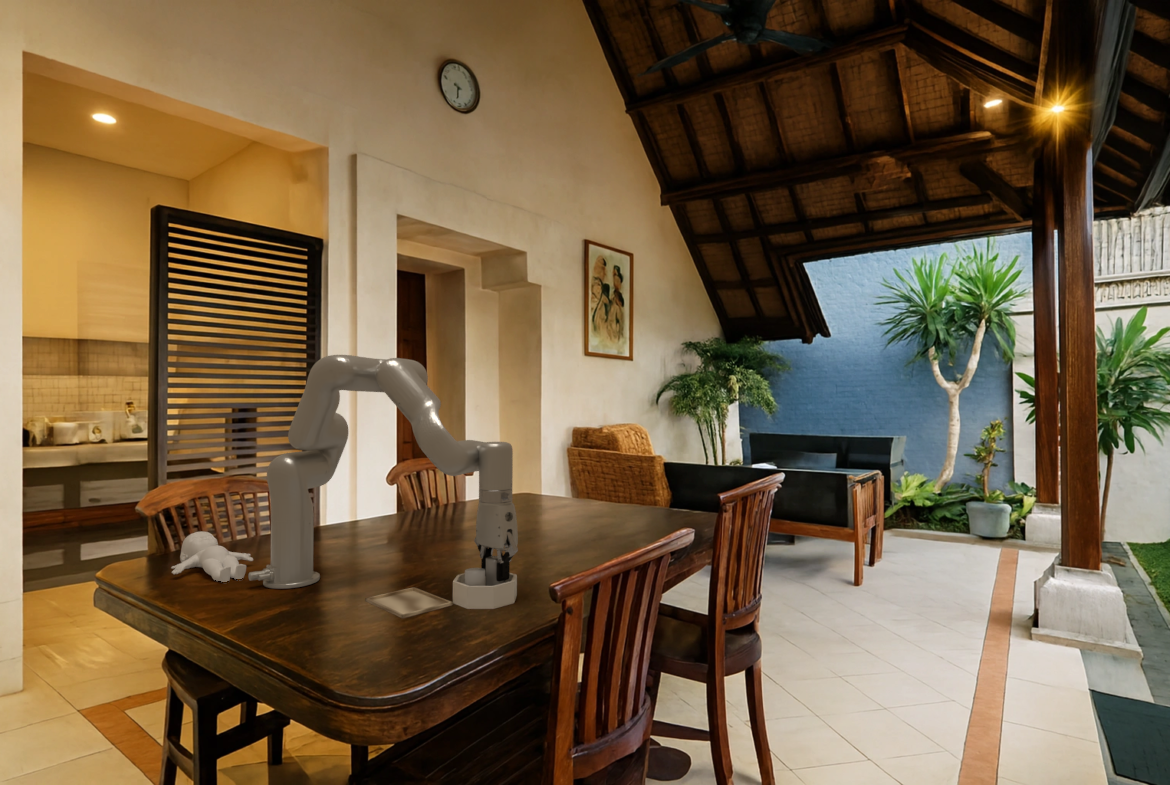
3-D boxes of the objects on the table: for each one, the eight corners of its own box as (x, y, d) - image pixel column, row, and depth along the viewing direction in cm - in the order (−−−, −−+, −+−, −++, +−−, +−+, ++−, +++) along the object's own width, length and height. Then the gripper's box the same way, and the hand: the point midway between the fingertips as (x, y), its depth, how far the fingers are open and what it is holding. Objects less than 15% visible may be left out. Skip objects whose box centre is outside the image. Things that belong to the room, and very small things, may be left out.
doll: (190, 565, 150) (152, 532, 170) (188, 603, 150) (150, 565, 170) (274, 551, 164) (230, 522, 184) (272, 586, 165) (228, 553, 185)
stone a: (488, 598, 141) (489, 569, 141) (475, 604, 137) (476, 574, 137) (473, 595, 143) (473, 566, 143) (460, 600, 139) (460, 571, 139)
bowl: (478, 614, 133) (478, 590, 133) (442, 600, 142) (442, 578, 142) (528, 600, 142) (528, 578, 142) (491, 588, 152) (491, 567, 152)
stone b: (509, 586, 144) (509, 558, 144) (493, 590, 141) (493, 561, 141) (497, 582, 147) (497, 554, 147) (481, 586, 144) (481, 558, 144)
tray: (402, 620, 129) (402, 615, 129) (365, 602, 141) (365, 598, 141) (452, 606, 138) (452, 602, 138) (413, 591, 149) (413, 587, 149)
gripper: (533, 499, 141) (532, 582, 141) (486, 491, 153) (486, 567, 153) (506, 502, 136) (505, 589, 136) (460, 494, 148) (459, 573, 148)
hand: (495, 576), depth 144 cm, fingers open, 4 cm apart
